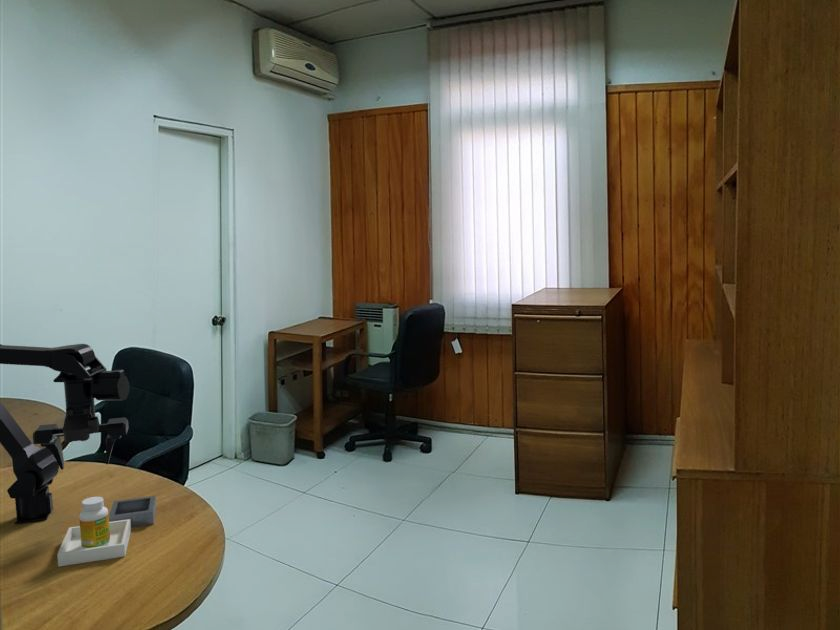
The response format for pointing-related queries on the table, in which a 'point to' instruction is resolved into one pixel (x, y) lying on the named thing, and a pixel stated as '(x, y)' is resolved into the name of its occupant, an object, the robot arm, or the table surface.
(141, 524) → the can holder
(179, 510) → the table surface
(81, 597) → the table surface
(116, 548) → the tray
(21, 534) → the table surface
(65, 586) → the table surface
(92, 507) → the supplement bottle
